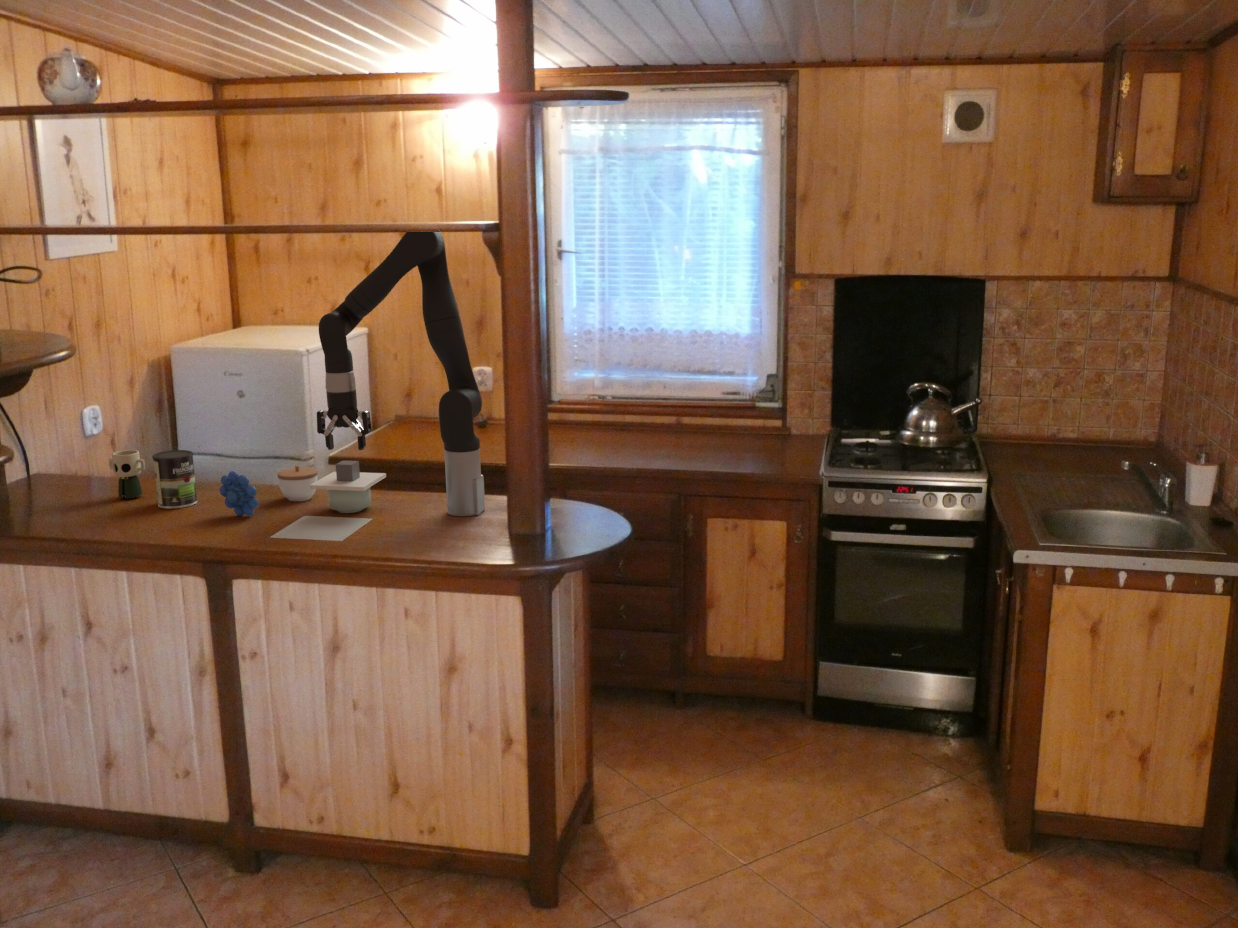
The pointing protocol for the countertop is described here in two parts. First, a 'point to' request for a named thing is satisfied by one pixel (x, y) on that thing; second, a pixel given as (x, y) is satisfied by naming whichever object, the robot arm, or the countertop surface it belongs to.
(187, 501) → the coffee can
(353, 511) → the bowl
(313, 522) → the mat
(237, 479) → the grapes
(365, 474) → the lid
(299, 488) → the lidded jar
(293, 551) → the countertop surface
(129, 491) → the character mug
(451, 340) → the robot arm
